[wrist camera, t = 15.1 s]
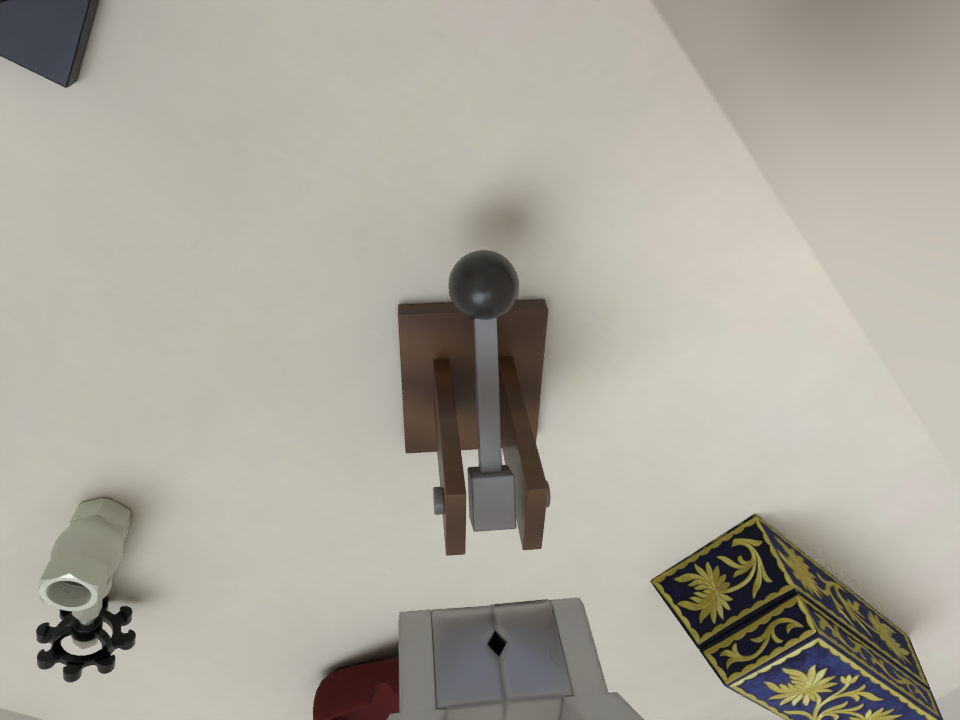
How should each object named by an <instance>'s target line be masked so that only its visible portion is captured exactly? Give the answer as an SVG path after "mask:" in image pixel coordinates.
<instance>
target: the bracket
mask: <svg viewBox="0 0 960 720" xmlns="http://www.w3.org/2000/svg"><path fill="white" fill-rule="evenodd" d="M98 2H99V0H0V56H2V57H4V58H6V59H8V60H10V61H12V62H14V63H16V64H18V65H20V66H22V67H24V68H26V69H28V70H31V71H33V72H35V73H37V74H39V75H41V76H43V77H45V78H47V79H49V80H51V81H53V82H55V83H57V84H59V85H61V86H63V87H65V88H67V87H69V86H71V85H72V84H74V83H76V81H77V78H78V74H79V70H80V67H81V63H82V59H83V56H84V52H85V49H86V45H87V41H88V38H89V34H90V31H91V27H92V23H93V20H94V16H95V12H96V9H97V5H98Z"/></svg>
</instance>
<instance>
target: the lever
mask: <svg viewBox="0 0 960 720" xmlns="http://www.w3.org/2000/svg"><path fill="white" fill-rule="evenodd" d="M518 291H519V280H518V275H517V273H516V270H515V268H514V267H513V265H512V264H511V263H510V262H509V260H508V259H506V258H505V257H504V256H502V255H501V254H499V253H496V252H493V251H488V250H480V251H475V252H472V253H469V254H467V255H465V256H464V257H462V258H461V259H460V260H459V261H458V262H457V263H456V264H455V266H454V268H453V269H452V272H451V274H450V277H449V293H450V297H451V300H452V302H453V304H454V305H455V307H456V308H457V309H458V310H459V311H460V312H461V313H462V314H463V315H465V316H467V317H468V318H471V319H473V321H474V348H475V375H476V402H477V429H478V456H479V467H469V468H468V493H469V517H470V521H471V524H472V527H473V530H474V531H475V532H477V531H491V530H506V529H516V504H515V476H514V474H513V473H512V471H511V470H510V468H509V467H508V465H502V459H501V430H500V401H499V372H498V343H497V318H499V317H501V316H503V315H504V314H505V313H507V312H508V311H509V310H510V309H511V307H512V306H513V305H514V303H515V301H516V299H517V296H518Z"/></svg>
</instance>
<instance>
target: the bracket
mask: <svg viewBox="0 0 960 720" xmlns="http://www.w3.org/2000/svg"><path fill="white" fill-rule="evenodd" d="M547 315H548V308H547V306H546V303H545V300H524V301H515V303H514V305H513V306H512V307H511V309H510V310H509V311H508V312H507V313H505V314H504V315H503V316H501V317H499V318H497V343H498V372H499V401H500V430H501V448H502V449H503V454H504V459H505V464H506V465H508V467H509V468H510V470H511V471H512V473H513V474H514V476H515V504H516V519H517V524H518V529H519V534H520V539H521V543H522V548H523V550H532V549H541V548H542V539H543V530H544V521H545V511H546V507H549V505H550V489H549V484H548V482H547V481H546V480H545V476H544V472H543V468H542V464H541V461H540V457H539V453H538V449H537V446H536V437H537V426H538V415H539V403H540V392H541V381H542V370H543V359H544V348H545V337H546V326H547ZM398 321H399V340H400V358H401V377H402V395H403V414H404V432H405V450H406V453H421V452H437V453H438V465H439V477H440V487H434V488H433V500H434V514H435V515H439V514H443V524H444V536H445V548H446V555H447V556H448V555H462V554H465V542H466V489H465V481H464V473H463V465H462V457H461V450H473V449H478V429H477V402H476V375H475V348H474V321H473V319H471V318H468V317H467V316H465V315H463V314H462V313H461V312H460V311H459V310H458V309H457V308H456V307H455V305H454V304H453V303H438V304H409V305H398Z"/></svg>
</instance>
